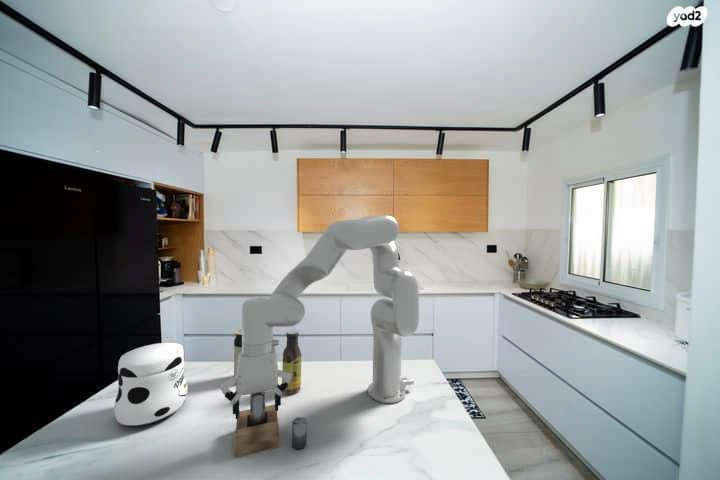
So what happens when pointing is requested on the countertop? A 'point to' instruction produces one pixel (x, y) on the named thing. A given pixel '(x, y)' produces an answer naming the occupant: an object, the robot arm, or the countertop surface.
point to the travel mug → (237, 348)
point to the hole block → (256, 433)
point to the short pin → (299, 433)
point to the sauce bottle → (292, 362)
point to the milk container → (150, 384)
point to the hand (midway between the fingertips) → (257, 411)
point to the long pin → (257, 409)
